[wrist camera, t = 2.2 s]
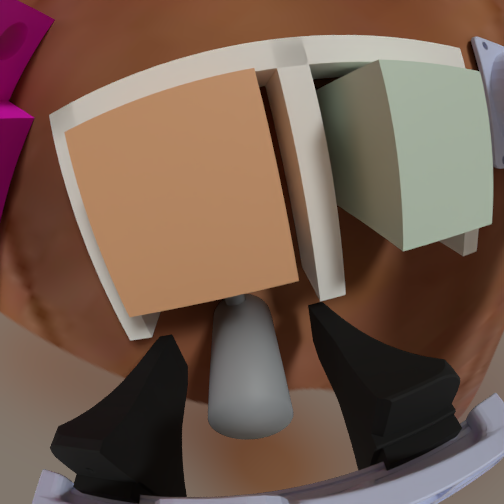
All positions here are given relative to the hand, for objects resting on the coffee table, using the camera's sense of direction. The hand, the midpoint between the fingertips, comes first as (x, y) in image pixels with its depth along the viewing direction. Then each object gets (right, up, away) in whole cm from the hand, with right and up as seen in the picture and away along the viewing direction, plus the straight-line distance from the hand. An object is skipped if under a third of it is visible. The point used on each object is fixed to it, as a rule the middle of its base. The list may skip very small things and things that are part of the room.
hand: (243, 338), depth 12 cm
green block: (+5, +9, -1) cm, 10 cm away
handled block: (-1, +4, 0) cm, 4 cm away
